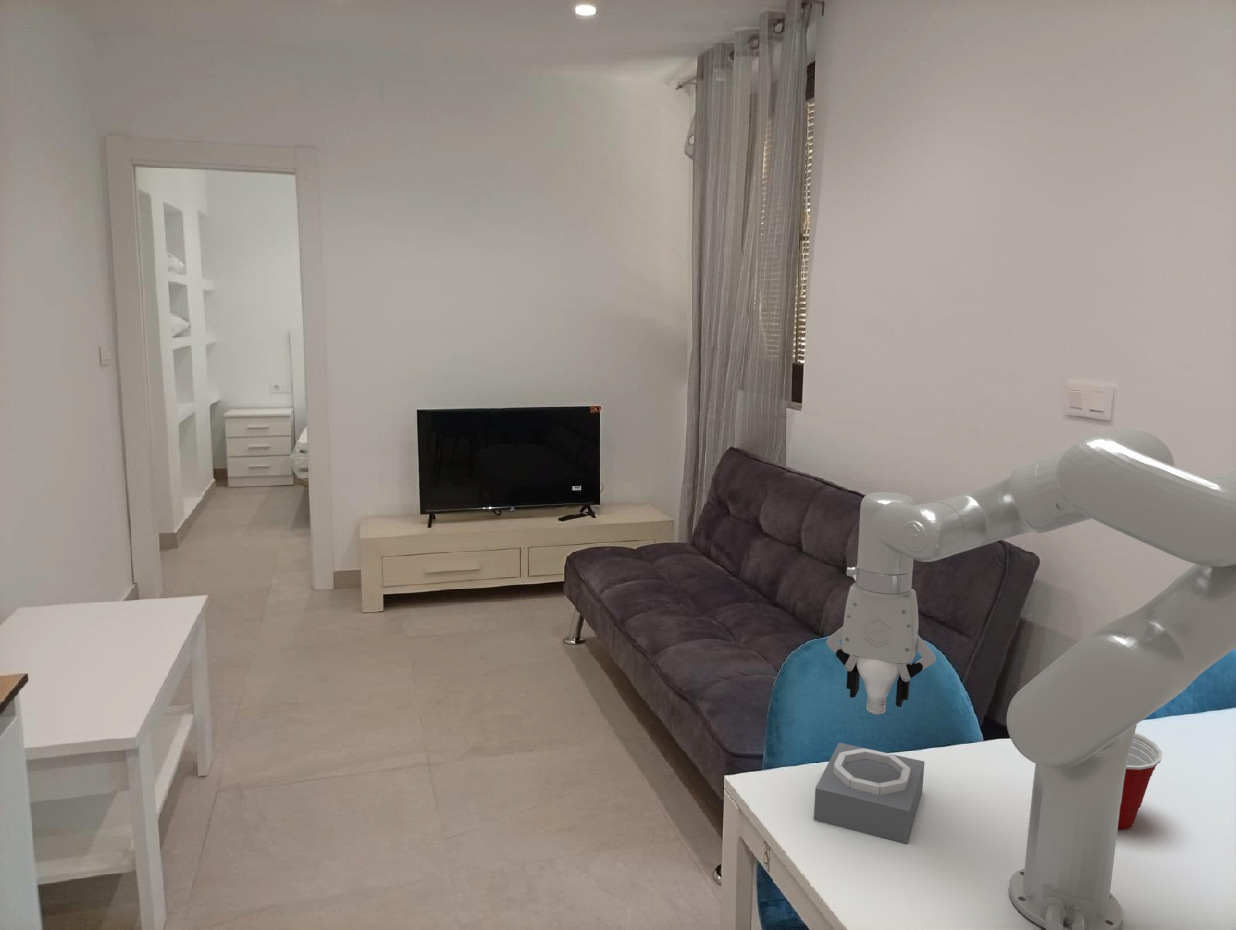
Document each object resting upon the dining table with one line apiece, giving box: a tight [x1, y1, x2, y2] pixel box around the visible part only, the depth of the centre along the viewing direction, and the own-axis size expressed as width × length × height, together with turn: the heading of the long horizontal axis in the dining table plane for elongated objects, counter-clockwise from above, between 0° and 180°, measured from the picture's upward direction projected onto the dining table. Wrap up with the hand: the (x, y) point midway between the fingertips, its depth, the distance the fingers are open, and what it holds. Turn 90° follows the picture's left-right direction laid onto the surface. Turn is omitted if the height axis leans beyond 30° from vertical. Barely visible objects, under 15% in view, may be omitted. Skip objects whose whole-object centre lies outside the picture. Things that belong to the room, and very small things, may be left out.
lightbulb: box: [856, 657, 900, 716], centre depth 129 cm, size 6×6×11 cm
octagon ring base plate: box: [813, 742, 925, 845], centre depth 133 cm, size 18×13×6 cm
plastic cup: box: [1117, 732, 1163, 831], centre depth 128 cm, size 11×11×12 cm
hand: (876, 697), depth 129 cm, fingers closed on lightbulb, 5 cm apart
